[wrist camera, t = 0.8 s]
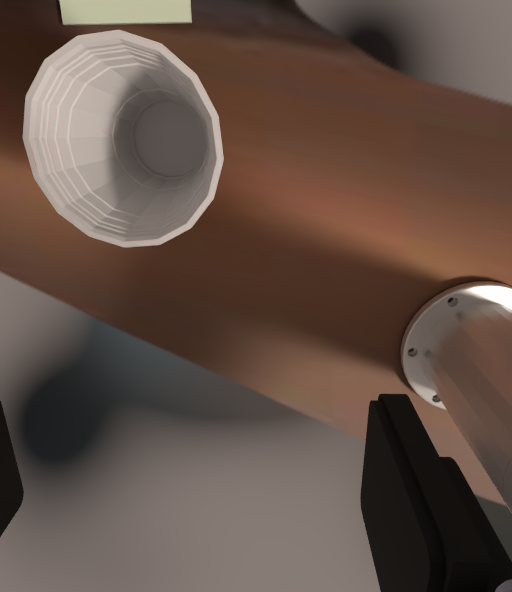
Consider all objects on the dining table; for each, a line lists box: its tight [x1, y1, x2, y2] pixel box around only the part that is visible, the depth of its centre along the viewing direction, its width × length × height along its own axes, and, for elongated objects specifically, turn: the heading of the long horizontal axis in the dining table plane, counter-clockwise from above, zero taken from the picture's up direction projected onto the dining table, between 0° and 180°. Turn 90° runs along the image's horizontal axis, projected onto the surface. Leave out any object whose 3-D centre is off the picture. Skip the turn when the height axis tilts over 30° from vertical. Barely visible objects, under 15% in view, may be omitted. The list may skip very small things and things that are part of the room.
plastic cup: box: [23, 30, 224, 248], centre depth 28 cm, size 11×11×12 cm
